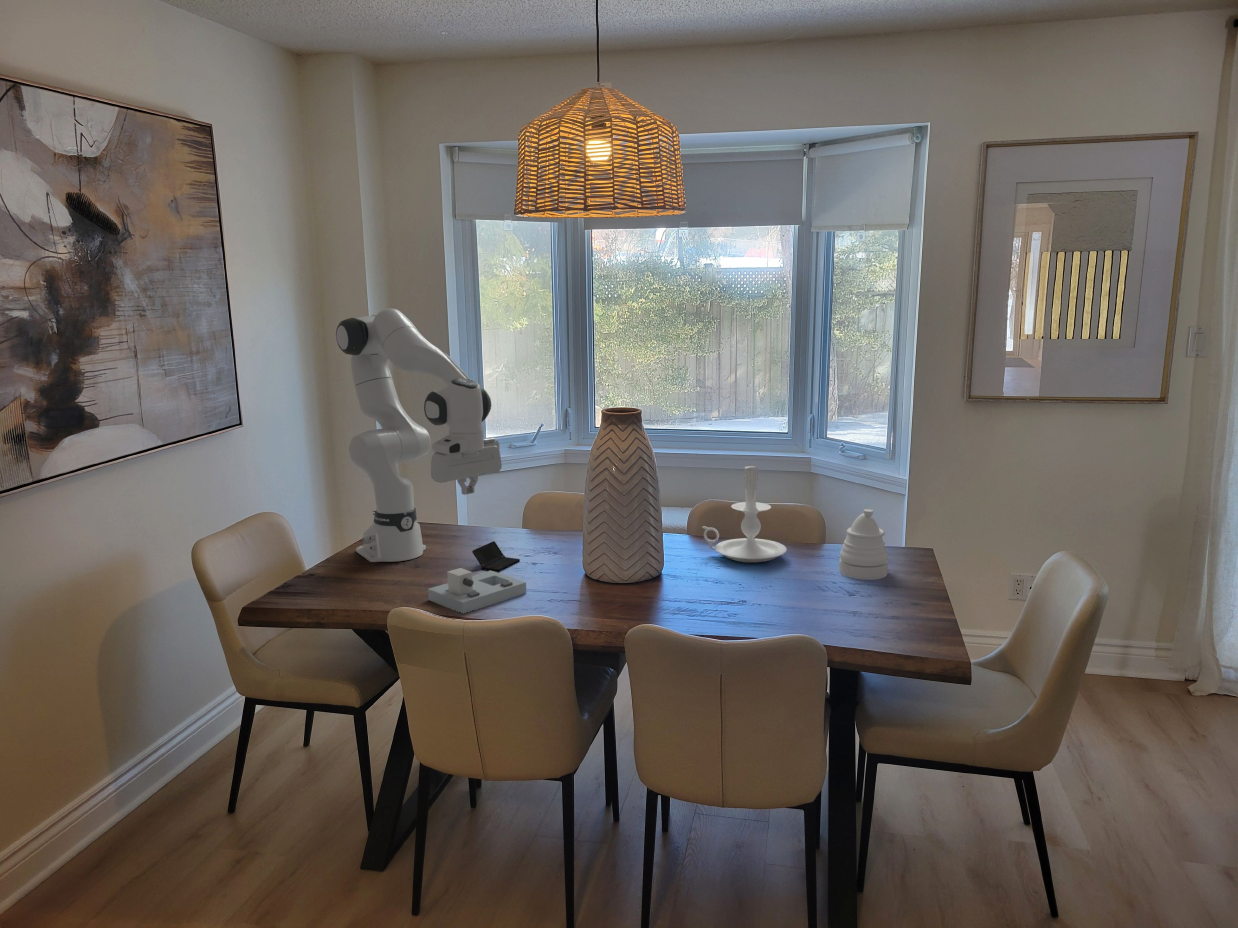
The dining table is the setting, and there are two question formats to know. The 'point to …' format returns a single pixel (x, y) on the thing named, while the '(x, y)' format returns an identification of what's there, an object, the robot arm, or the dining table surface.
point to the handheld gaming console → (493, 558)
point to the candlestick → (748, 529)
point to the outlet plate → (479, 592)
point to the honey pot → (864, 550)
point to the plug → (460, 582)
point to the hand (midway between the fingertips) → (468, 493)
